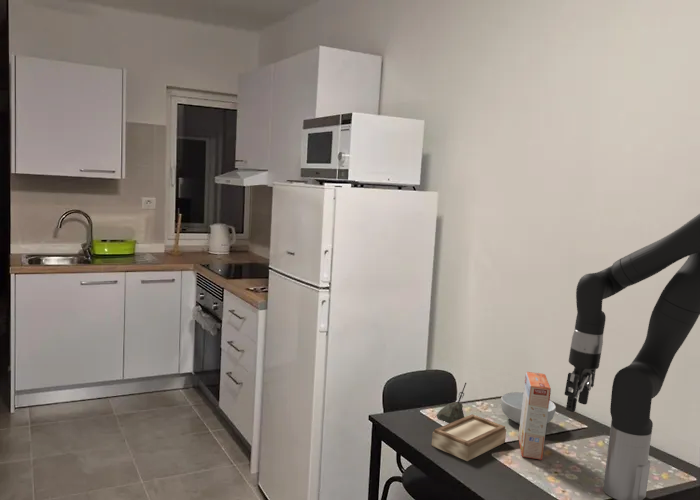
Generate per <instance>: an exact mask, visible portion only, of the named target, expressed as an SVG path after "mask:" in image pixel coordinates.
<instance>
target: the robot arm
mask: <svg viewBox="0 0 700 500" xmlns="http://www.w3.org/2000/svg"><path fill="white" fill-rule="evenodd" d="M687 257H688V258H687ZM684 258H687V260H685V262H684V263H683V264H682V265H681V267H680V268H678V270H677V271H676V272H675V273H674V275H673V276H672V277H671V278H670V279H669V281H668V282H667V284H666V285H665V287H664V288H663V289H662V292H661V293H660V294H659V297H658V298H657V301H656V303H655V305H654V307H653V309H652V311H651V314H650V317H649V322H648V327H647V332H646V336H645V337H646V338H645V340H644V342H643V344H642V346H641V348H640V349H639V351H638V353H637V355H636V356H635V358H634V359H633V361H632V362H631V363H630V364H629V365H627V366H625V367H622V368H621V369H620V370H618V371H617V372H616V374H615V375H614V377H613V380H612V387H611V394H610V397H611V398H610V407H609V411H610V415H611V421H610V423H611V424H610V430H609V437H608V445H607V446H608V447H607V455H606V462H605V467H604V468H605V469H604V470H605V471H604V478H603V485H602V490H603V492H604V493H605V494H606V495H608V496H609V497H610V498H613V499H614V500H645V498H646V496H647V490H648V483H649V475H650V468H651V460H649V457H650V456H649V454H650V446H651V441H652V433H653V427H654V426H653V425H654V424H653V421H652V419H651V410H652V409H651V407H652V401H653V400H652V399H653V398H655V397H656V396H657V395H659V393H660V391H661V390H662V386H663V384H664V382H665V379H666V376H667V374H668V372H669V368H670V366H671V365H672V361H673V360H674V358H675V356H676V354H677V352H678V351H679V349H680V348H681V347H682V345H683V344H684V342H685V341H686V339H687V337H688V335H689V334H690V333H691V331H692V329H693V328H694V326H695V324H696V322H697V321H698V319H699V317H700V213H698V214H697V215H695V216H694V217H693V218H692V219H690V220H688V221H687V222H686V223H685V224H682V226H680V227H679V228H677V229H675V230H674V231H672V232H671V233H669V234H668V235H666V236H664V237H662V238H660V239H659V240H656V241H654V242H652V243H650V244H648V245H646V246H644V247H641V248H639V249H637V250H635V251H632V252H631V253H629V254H627V255H625V256H623V257H621V258H619V259H618V260H616V261H614V262H613V263H612V265H610V266H609V267H607V268H604V269H602V270H600V271H597V272H592V273H591V272H590V273H585V274H584V275H582V276H581V278H579V280H578V282H577V285H576V290H575V299H576V301H575V302H576V311H577V312H576V313H577V314H576V317H575V318H576V319H575V324H574V330H573V333H572V337H571V344H570V350H569V355H568V363H569V364H570V365H571V366H573V367H574V369H573V371H572V372H568V374H567V377H566V384H565V389H564V396H566V397H567V400H566V405H565V409H566V411H568V412H571V413H574V412H576V408H577V402H578V403H579V404H581V405H587V404H588V400H589V394H590V392H591V389H592V388H593V387H595V386H594V385H595V384H594V383H595V379H596V378H595V377H596V371H597V369H599V367H600V362H601V356H602V350H603V345H604V333H605V332H604V331H605V325H606V319H607V318H606V313H605V312H604V311H603V301H604V300H605V299H608V298H610V297H613V296H614V295H616V294H618V293H620V292H621V291H624V290H625V289H627V288H628V287H631V286H634V285H636V284H638V283H640V282H642V281H645V280H647V279H649V278H652V277H653V276H654V275H657V274H659V273H660V272H661V271H663V270H665V269H667V268H668V267H670V266H671V265H673V264H674V263H676V262H678V261H680V260H682V259H684Z"/></svg>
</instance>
